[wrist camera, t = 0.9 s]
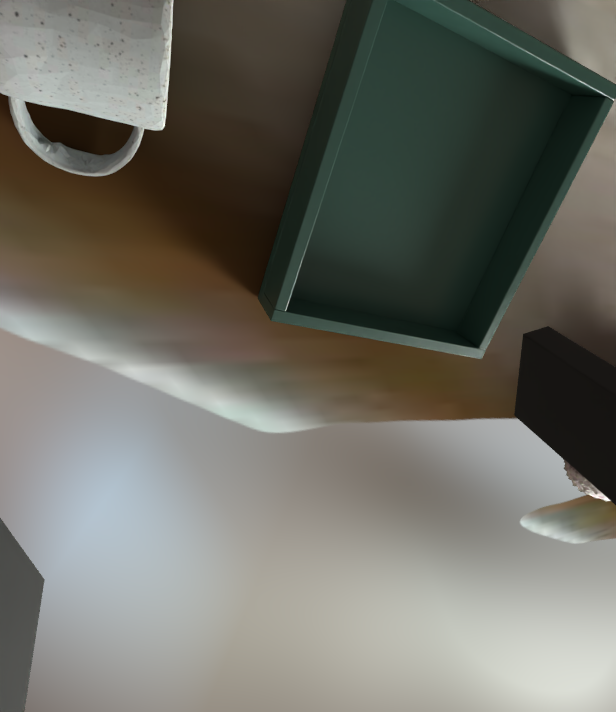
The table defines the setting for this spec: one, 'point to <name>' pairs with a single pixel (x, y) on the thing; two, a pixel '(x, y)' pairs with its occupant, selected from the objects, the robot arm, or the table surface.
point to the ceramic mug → (86, 69)
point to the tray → (428, 174)
